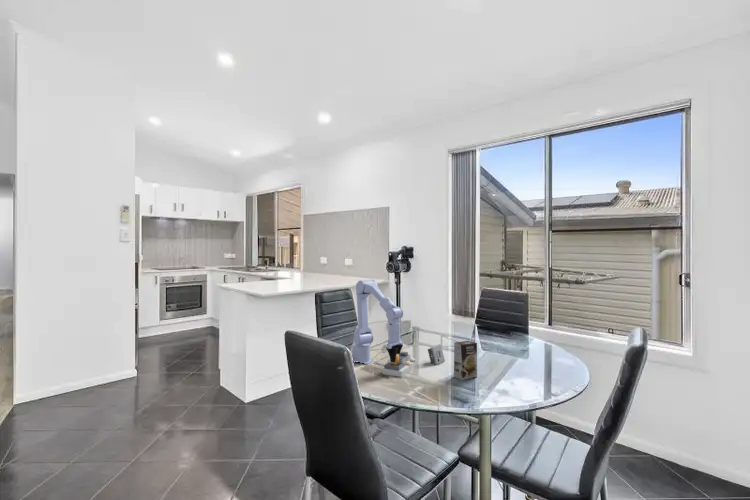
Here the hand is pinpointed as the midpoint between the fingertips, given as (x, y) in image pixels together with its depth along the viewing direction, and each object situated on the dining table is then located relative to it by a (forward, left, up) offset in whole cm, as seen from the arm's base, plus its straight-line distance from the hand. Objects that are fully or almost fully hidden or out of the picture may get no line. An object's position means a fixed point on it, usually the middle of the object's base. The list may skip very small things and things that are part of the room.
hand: (394, 360), depth 178 cm
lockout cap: (0, 0, -1) cm, 1 cm away
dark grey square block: (-1, +8, -3) cm, 8 cm away
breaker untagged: (-1, +14, -2) cm, 14 cm away
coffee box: (+32, +9, -6) cm, 34 cm away
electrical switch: (+13, +26, -6) cm, 30 cm away
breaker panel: (0, +7, -6) cm, 9 cm away
